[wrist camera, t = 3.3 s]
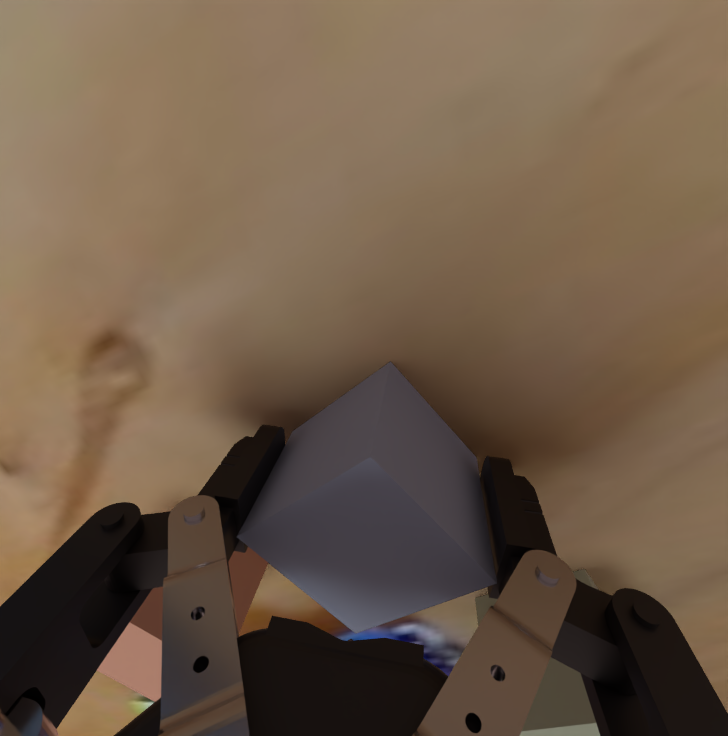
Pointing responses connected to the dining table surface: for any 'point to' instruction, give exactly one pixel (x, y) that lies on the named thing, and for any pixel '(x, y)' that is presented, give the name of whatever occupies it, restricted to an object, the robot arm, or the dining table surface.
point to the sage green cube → (556, 692)
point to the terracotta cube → (144, 632)
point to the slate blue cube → (375, 507)
